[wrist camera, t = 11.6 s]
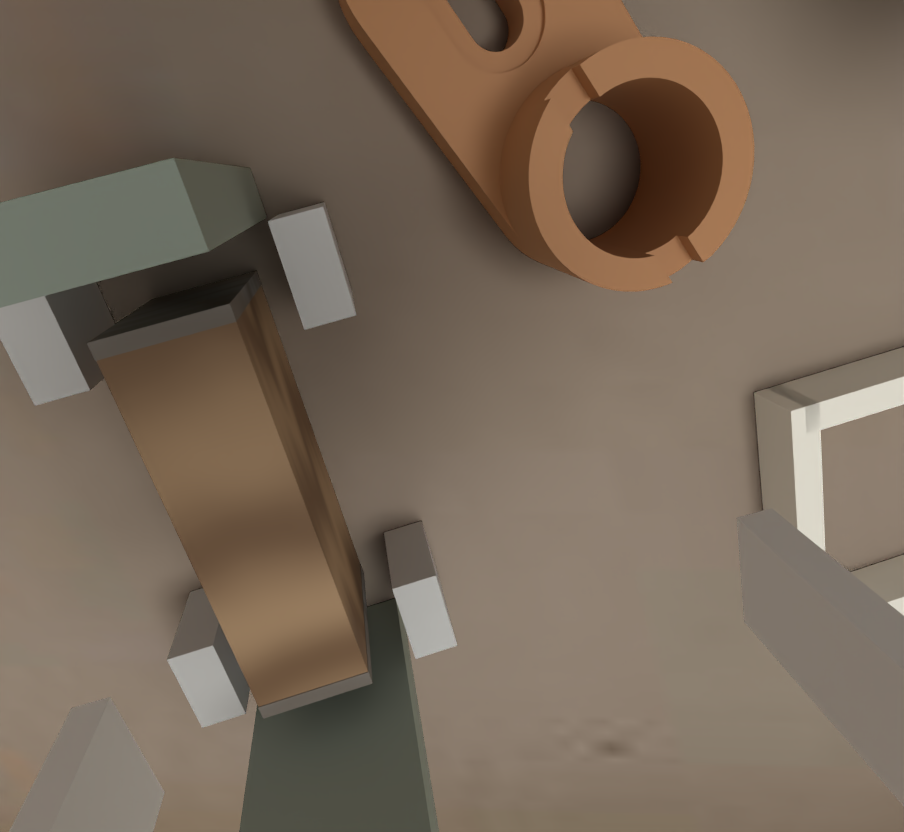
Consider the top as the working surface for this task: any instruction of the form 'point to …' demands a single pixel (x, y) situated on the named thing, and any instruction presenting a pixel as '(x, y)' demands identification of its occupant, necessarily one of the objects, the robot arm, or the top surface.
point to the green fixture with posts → (199, 632)
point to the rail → (244, 486)
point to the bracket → (548, 132)
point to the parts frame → (799, 447)
